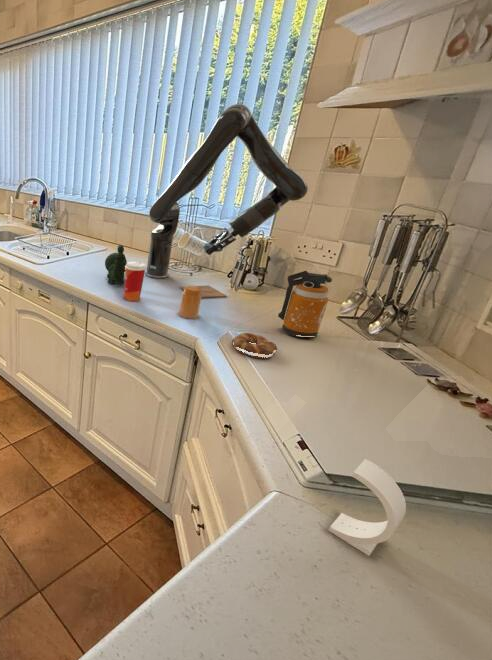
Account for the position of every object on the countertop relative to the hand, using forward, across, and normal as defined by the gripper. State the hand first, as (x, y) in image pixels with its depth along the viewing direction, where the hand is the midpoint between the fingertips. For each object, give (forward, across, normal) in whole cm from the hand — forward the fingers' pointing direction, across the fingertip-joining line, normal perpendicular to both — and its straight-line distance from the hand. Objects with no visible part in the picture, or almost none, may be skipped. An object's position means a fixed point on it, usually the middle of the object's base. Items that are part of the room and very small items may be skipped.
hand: (205, 250), depth 152 cm
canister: (-5, -30, -30) cm, 43 cm away
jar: (+16, -26, -8) cm, 31 cm away
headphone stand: (+4, -109, -21) cm, 111 cm away
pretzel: (+6, -47, -19) cm, 51 cm away
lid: (-3, 0, 0) cm, 3 cm away
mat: (+11, 0, -13) cm, 17 cm away
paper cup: (+30, -15, +6) cm, 34 cm away
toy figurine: (+35, +6, +11) cm, 37 cm away
